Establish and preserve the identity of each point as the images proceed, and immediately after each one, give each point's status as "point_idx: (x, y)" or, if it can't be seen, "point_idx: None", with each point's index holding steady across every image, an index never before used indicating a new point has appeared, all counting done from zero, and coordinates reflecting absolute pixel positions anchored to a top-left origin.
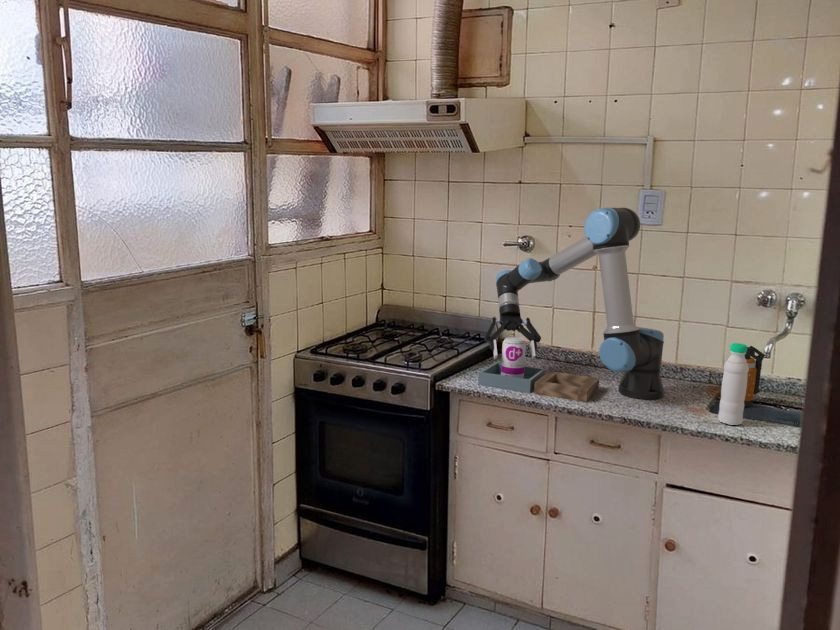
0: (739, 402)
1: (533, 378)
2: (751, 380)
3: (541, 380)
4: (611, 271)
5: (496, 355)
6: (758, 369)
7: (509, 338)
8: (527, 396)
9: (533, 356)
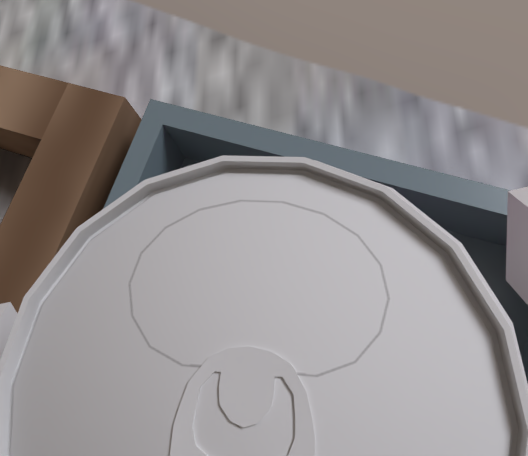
0: None
1: (122, 167)
2: None
3: (67, 166)
4: None
5: (521, 193)
6: None
7: None
8: (198, 77)
9: (14, 314)
